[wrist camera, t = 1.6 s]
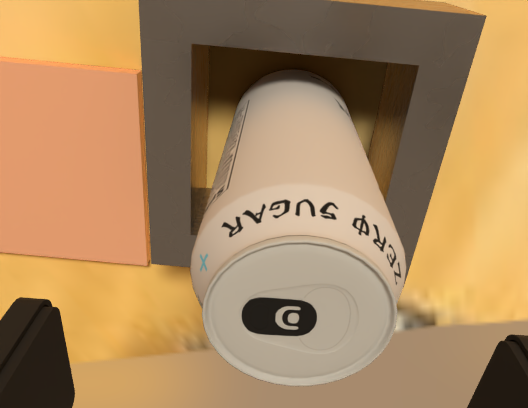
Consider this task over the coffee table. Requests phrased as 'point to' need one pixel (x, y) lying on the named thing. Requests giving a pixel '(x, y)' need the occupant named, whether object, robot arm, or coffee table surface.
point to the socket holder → (310, 43)
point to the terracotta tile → (72, 162)
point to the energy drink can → (296, 240)
